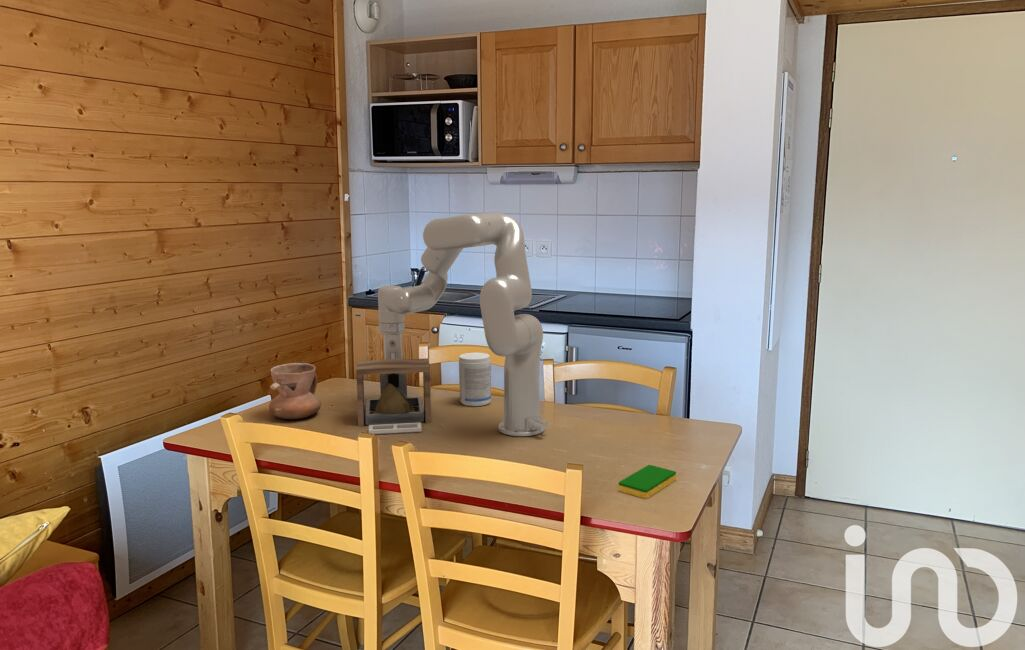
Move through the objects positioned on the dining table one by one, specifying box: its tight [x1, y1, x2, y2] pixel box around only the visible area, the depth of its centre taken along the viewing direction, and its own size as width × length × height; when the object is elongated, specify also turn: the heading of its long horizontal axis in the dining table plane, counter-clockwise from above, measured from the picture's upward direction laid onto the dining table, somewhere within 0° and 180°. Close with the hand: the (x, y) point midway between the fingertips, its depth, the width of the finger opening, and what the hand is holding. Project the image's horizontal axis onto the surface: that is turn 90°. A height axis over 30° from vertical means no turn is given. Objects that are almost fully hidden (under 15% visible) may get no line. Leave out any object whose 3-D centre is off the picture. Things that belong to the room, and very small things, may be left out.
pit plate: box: [368, 422, 423, 436], centre depth 211 cm, size 5×14×1 cm, turn 99°
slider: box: [364, 373, 425, 426], centre depth 227 cm, size 25×16×9 cm, turn 9°
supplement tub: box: [458, 352, 492, 407], centre depth 236 cm, size 10×10×15 cm
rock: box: [373, 383, 414, 414], centre depth 220 cm, size 11×9×10 cm
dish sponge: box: [617, 464, 677, 500], centre depth 174 cm, size 7×14×2 cm, turn 141°
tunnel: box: [355, 357, 432, 427], centre depth 220 cm, size 10×20×16 cm, turn 99°
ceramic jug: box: [268, 362, 322, 420], centre depth 223 cm, size 18×14×14 cm
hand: (393, 386), depth 235 cm, fingers closed
